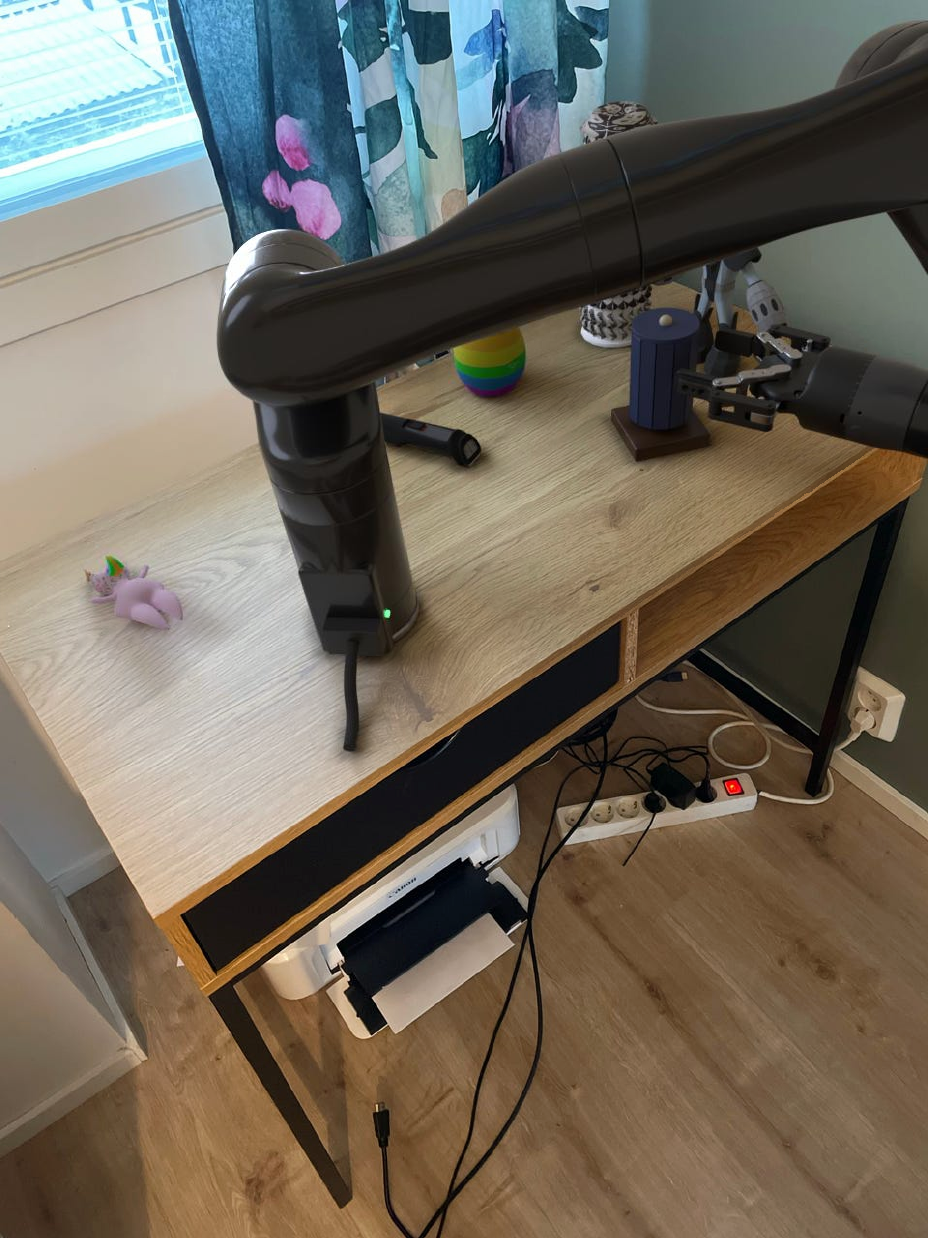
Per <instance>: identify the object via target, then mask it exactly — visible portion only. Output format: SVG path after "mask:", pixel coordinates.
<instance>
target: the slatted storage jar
mask: <svg viewBox="0 0 928 1238" xmlns="http://www.w3.org/2000/svg"><path fill="white" fill-rule="evenodd" d="M693 313H694V312H691V311H689V310H686V309H683V308H679V307H656V308H651V310H648V311H645V312H643V313H641V314H639V315H638V316H636V317H635V319H634V320H633V322H632V337H631V345H630V367H629V369H630V370H629V372H630V373H629V403H628V405H629V416H630V418H631V419H632V420H633V421H634V422H635V423H636V424H638V425H639V426H642V427H645V428H648V429H652V428H653V430H667V429H672V428H675V427H678V426H681V425H683V424H685V423H686V422H687V421H688V420H689V419H690V418H691V416H692V410H693V411H694V409H693V408H694V397H692V396H688V395H683V394H681V393H679V392H677V391H676V390H675V388H674V384H675V374H676V373H677V372H678V371H679V369H681V368H684V369H688V370H692V371H696V372H697V364H698V363H697V355H698V344H699V333H700V330H699V327H700V322H699V319H698V318H697V316H696V315H694V314H693Z"/></svg>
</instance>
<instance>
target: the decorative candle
mask: <svg viewBox="0 0 928 1238" xmlns="http://www.w3.org/2000/svg"><path fill="white" fill-rule="evenodd" d="M658 121H659V120H657V118H655V117H654V116H652V115H651V114H650V112H649V110H648V108H646V107H645V106H644V105H643V104H641V103H638V102H636V101H635V102H634V101H625V100H624V101H614V102H607V103H604V104H602V105H599V106H597V107H596V108H594V109H593V110H592V111H591V113H590V114H589V116H588V118H587V119H586V120H585V121H583V122H582V123H581V124H580V127H579V131H580V132H581V133H582V134H583V141H582V145H584V144H587V143H590V142H593V141H595V140H598V139H601V138H604V139H605V137H607V136H610V135H613V134H617V133H621V132H624V131H628V130H632V129H636V128H641V127H645V126H650V125H656V124H659V123H658ZM652 291H653V287H652V285H649V286H646V287H643V288H640V289H637V290H634V291H631V292H628V293H625V294H622V295H619V296H616V297H613V298H610V299H607V300H603V301H600V302H597V303H593V304H591V305H587V306H583V307H580V308H579V312H580V314H581V316H580V318H579V324H580V325H581V329H580V335H581V336H582V338H583V339H584V341H586V342H588V343H589V344H591V345H594V346H597V347H602V348H613V349H615V348H617V349H618V348H623V347H629V346H630V347H631V337H632V322H633V320H634V319H635V317H636V316H638V315H639V314H641V313H643V312H645V311H648V310H651V309H652V307H651V306H652V304H653V302H652V301H651V300H650V298H651V296H652Z"/></svg>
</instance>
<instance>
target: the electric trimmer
mask: <svg viewBox="0 0 928 1238" xmlns="http://www.w3.org/2000/svg"><path fill="white" fill-rule="evenodd" d="M380 415H381V422H382V428H383V434H384V440H385V443H388V444H390V445H392V446H395V447H398V448H400V447H406V446H411V447H414V448H418V449H421V450H425V451H427V452H431V453H434V454H438V455H441V456H445V457H448V458H450V459H452V460H453V462H455V463H456V464H457V465H458V466H459V467H464V466H468V467H471V466H472V465H473V464H474V463H475V461H476V460H478V458H480V456H481V453H482V445H481V444H480V442H479V441H478V439H477V438H476V437H475V436H474V435H472V434H471V433H468V432H466V431H465V430H463V429H460V428H456V429H455V428H452V427H447V426H444V425H443V426H442V425H439V424H434V423H430V422H425V421H421V420H418V419H412V418H406V417H402V416H398V415H393V414H389V413H384V412H380Z"/></svg>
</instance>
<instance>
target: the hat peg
mask: <svg viewBox="0 0 928 1238" xmlns="http://www.w3.org/2000/svg"><path fill="white" fill-rule="evenodd" d="M610 421H611V423H612V425H613V427H614V428H615V430H616V431H617V433H618V435H619V436H620V438H621V439H622V441H623V443H624V444H625V446H626V447H627V449H628V451H629V453H630V454H631V456H632V458H633V459H634V461H635V462H638V461H644V460H649V459H652V458H653V459H654V458H658V457H662V456H667V455H670V454H675V453H680V452H685V451H688V450H694V449H698V448H699V449H700V448H703V447H708V446H710V442H711V432H710V431H709V429H708V427H706V425H705V424H704V423H703V421H702V419H700V417H699V416H698V414H697V413H696V412H695V410H694V409H693V410H692V416H691V418H690V419H689V420H688V421H687V422H686V423H685V424H683V425H681V426H678V427H675V428H672V429H667V430H653V428H652V429H648V428H645V427H642V426H639V425H638V424H636V423H635V422H634V421H633V420H632V419H631V418H630V416H629V404H628V405H623V406H618V407H613V408H611V409H610Z"/></svg>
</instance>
